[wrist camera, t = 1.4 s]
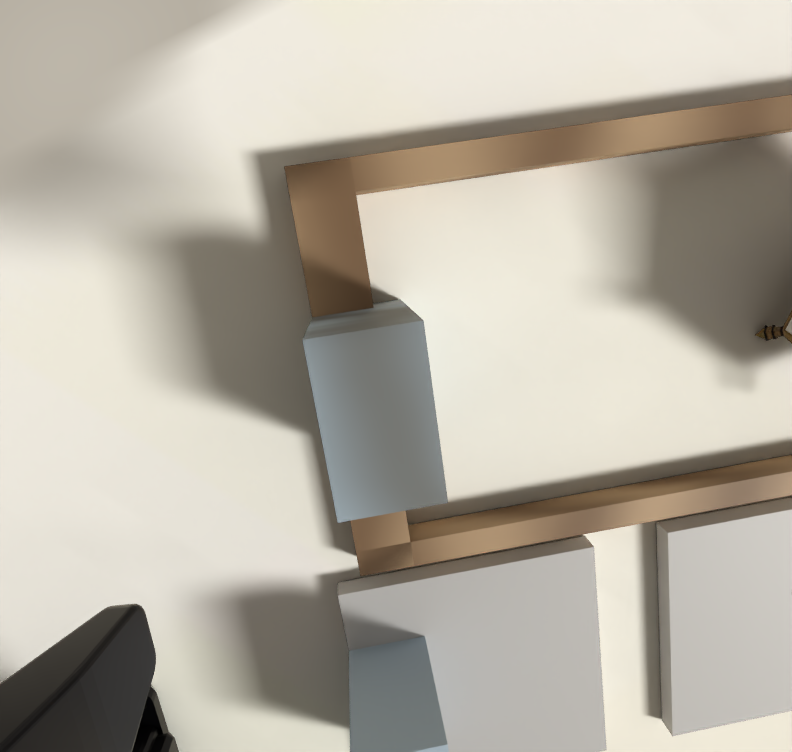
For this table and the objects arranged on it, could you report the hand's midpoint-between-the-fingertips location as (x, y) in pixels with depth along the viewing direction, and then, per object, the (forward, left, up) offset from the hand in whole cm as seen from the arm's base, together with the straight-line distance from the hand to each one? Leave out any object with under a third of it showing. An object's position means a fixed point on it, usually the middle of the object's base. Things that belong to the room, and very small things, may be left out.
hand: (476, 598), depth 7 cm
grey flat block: (+10, -13, -12) cm, 20 cm away
